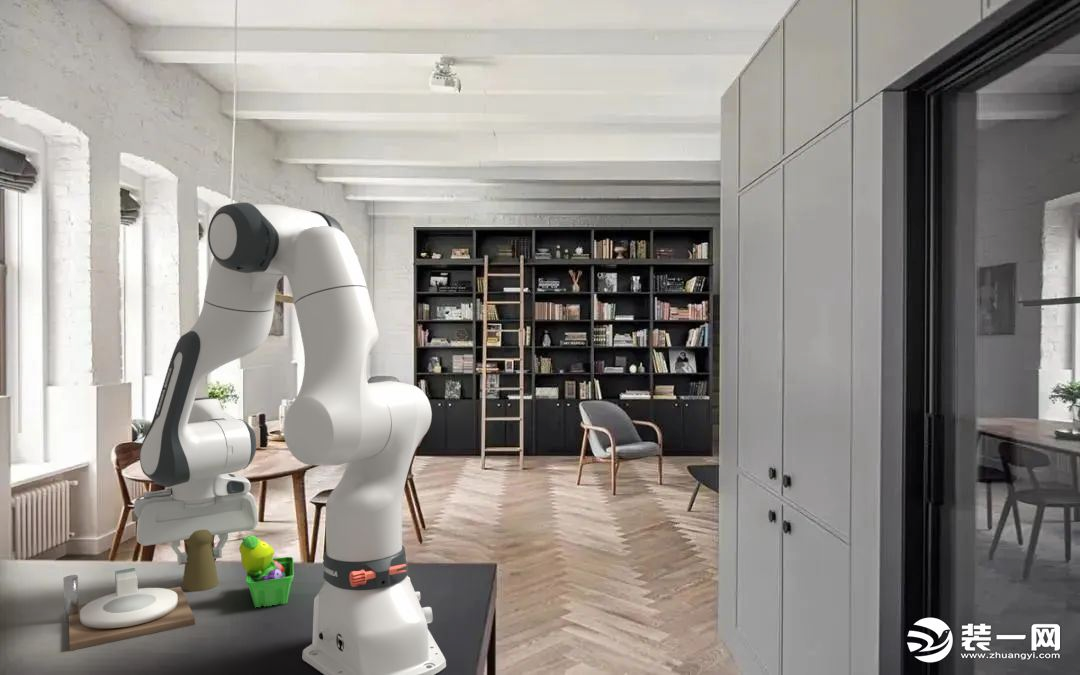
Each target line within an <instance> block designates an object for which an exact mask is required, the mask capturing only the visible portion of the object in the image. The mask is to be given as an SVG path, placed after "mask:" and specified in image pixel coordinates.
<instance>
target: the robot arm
mask: <svg viewBox="0 0 1080 675" xmlns="http://www.w3.org/2000/svg"><path fill="white" fill-rule="evenodd" d="M207 242H208V246H209V247H208V248H209V250H210V252H211V254H212V256H213V258H212V262H211V265H210V269H209V272H208V276H207V280H206V284H205V285H206V286H205V292H204V298H203V305H202V308H201V312H200V314H199V316H198V318H197V320H196V321H195V323H194V325H193V326H192V327H191V328H190V330H189V331H188V332H185V333H184V334H182V335H181V336H180V337H179V339H178V341H177V343H176V345H175V348H174V350H173V352H172V355H171V358H170V361H169V364H168V367H167V372H166V374H165V378H164V381H163V383H162V387H161V390H160V394H159V398H158V402H157V404H156V408H155V410H154V414H153V418H152V420H151V424H150V426H149V427H148V430H147V432H146V434H145V436H144V437H143V440H142V443H141V446H140V450H139V451H140V452H139V463H140V468H141V470H142V473H143V474H144V475H145V476H146V477H147V478H148V479H149V480H151V481H153V482H154V483H156V484H158V485H159V486H162V487H164V488H167V489H159V490H156V491H145V492H143V494H141V495H139V496H137V497H136V499H135V500H134V503H133V513H134V515H135V517H137V518H138V519H137V523H136V541H137V543H139V544H140V545H141V546H142V547H147V546H153V545H159V544H166V543H169V544H170V545H169V546H170V548H171V549H172V550H173V551H174V553H175V554H176V556H177V558H176V559H177V565H178V566H182V565H185V564H187V562H188V560H187V553H186V552H187V551H183V552H181V550H180V549H179V548H178V547H180V546H181V541H184V540H186V539H189V538H190V536H191V535H192V534H193V532H195V531H198V530H208V531H209V532H211V534H212V535H215V536H217V537H218V539H219V541H218V542H217V544H216V546H214V547H213V546H212V548H213V554H214V555H213V558H214V560H216V559H221V558H222V557H223V550H222V549H223V548H224V546H225V545H226V543H227V542H228V539H229V534H230V533H231V534H232V533H236V532H238V533H239V532H242V531H243V532H245V531H249V530H251V531H252V530H255V528H256V527H257V526H258V524H259V513H258V508H257V502H256V498H255V496H254V495H253V494H252V493H251V492H250V491H251V485H252V484H251V482H250V480H249V479H248V478H246V477H245V476H243V475H241V474H234V473H237V472H239V471H242V470H245V469H247V468H248V467H249V465H250V464H251V462H252V461H253V460H254V457H255V455H256V452H257V438H256V432H255V430H254V429H253V428H252V427H251V426H250V425H249V423H248V422H246V421H245V420H243V419H241V418H239V419H238V418H235V417H234V416H232V415H231V414H230V413H229V414H228V413H227V412H226V411H225V410H224V409H223V408H222V404H221V402H220V400H219V399H217V398H215V397H211V396H209V397H208V396H207V397H196V396H197V392H198V389H199V387H200V385H201V383H202V381H203V380H204V379H205V378H206V377H207V376H208V375H210V374H211V373H212V372H214V371H215V370H217V369H218V368H221V367H222V366H225V365H226V364H228V363H231V362H234V361H235V360H236V361H237V360H238V359H241V358H243V357H246V356H247V355H250V354H251V353H253V352H254V351H256V350H257V349H259V347H261V346H262V345H263V344H264V342H266V341H267V339H268V336H269V334H270V332H271V329H272V327H273V326H272V325H273V318H274V313H275V312H274V311H275V305H276V304H275V303H276V292H277V286H278V282H279V280H281V279H282V278H283V277H286V278H287V280H288V282H289V287H290V291H291V296H292V301H293V305H294V309H295V313H296V316H297V317H296V318H297V321H298V322H297V323H298V325H299V326H298V327H299V332H300V335H301V341H302V346H303V353H304V354H303V355H304V368H303V377H302V382H301V386H300V389H299V392H298V394H297V395H296V398H295V399H294V401H293V402H292V403H291V404H290V406H289V407H288V409H287V411H286V414H285V416H284V418H283V419H284V420H283V426H282V428H283V432H282V433H283V437H284V442H285V444H286V447H287V449H288V451H290V453H291V454H292V456H293V457H294V458H295V459H296V460H297V461H298V462H300V463H302V464H304V465H307V466H308V465H309V466H321V467H323V466H324V467H326V466H330V467H332V466H342V465H344V464H347V465H346V467H345V470H344V472H343V475H342V477H341V479H339V480H340V481H339V482H338V483H337V485H336V486H335V487H334V489H332V490H331V492H330V494H329V495H328V498H327V500H326V503H325V538H326V539H325V543H326V546H325V547H326V548H325V549H326V550H325V552H324V554H323V561H322V569H323V579H324V580H325V581H324V583H323V585H322V587H321V589H320V590H319V592H318V593H317V594H316V596H315V597H314V600H313V614H312V615H313V617H312V619H313V620H312V643H311V644H310V645H308V646H306V647H305V648H304V649H302V657H301V658H302V660H303V661H304V662H306V663H307V664H308V665H310V666H311V667H313V669H315V670H317V671H319V672H320V673H322V674H323V675H436V674H438V673H440V672H442V671H443V670H444V669H445V668H446V667H447V663H446V662H447V660H446V658H445V656H444V654H443V652H442V651H441V649H440V647H439V646H438V644H437V642H436V641H435V639H434V637H433V635H432V633H431V631H430V630H429V629H428V628H429V627H428V624H431V623H433V620H434V617H433V615H434V614H433V610H432V606H431V607H430V606H424V607H422V605H421V604H420V601H421V592H420V591H415V588H414V586H413V584H412V582H411V578H410V577H409V576H408V575H409V568H408V567H409V566H408V562H409V561H408V556H407V554H406V548H405V546H404V545H403V502H404V493H405V492H404V491H405V486H406V481H407V478H408V473H409V470H410V466H411V464H412V460H413V457H414V454H415V452H416V450H417V447H418V446H419V444H420V442H421V441H422V439H423V438H424V436H425V435H426V434H427V432H428V431H429V429H430V427H431V425H432V424H431V423H432V416H433V413H432V407H431V403H430V400H429V398H428V396H427V395H426V394H425V393H424V391H423V390H422V389H421V388H420V387H418V386H416V385H414V384H411V383H406V382H401V381H394V380H385V381H378V382H376V381H375V382H370V383H369V382H368V378H367V369H368V367H367V366H368V358H369V354H370V353H371V352H372V351H373V350H374V349H375V348H376V346H377V344H378V342H379V338H380V334H379V333H380V332H379V329H378V324H377V320H376V316H375V313H374V309H373V304H372V300H371V298H370V293H369V289H368V284H367V282H366V278H365V275H364V272H363V270H362V266H361V264H360V261H359V258H358V257H357V254H356V251H355V249H354V248H353V245H352V244H351V241H350V239H349V238H348V235H347V234H345V232H344V229H343V227H342V225H341V224H340V222H339V221H338V220H336V218H334V217H332V216H330V215H328V214H326V213H323V212H320V211H317V210H311V211H309V210H305V209H302V208H296V207H291V206H287V205H285V204H283V205H282V204H272V203H271V204H270V203H269V204H267V203H258V204H257V203H255V204H253V203H250V202H236V203H235V202H233V203H229V204H226V205H223V206H221V207H219V208H218V209H217V210H216V211H215V213H214V214H213V217H212V218H211V220H210V222H209V225H208V231H207ZM169 487H170V488H169Z"/></svg>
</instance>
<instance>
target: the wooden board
mask: <svg viewBox="0 0 1080 675" xmlns="http://www.w3.org/2000/svg"><path fill="white" fill-rule="evenodd" d="M168 589H169V590H172V591H174V592H176V593H177V596H178V604H177V606H176V608H175V609H174V610H173V611H171V612H170V613H168V614H166V615H164V616H162V617H160V618H157V619H155V620H152V621H149V622H145V623H142V624H137V625H133V626H127V627H120V628H91V627H87V626H85V625H83V624H82V623H81V622H80V611H81V609H82V608H83V607H84V606H85V605H86V604H87V603H84V604H79V613H78V614H75V615H71V616H69V622H68V635H69V636H68V638H69V639H68V640H69V645H68V646H69V652H70V651H75V650H80V649H83V648H88V647H93V646H98V645H103V644H107V643H113V642H118V641H122V640H127V639H132V638H137V637H142V636H145V635H146V636H147V635H151V634H155V633H160V632H165V631H169V630H170V631H171V630H174V629H179V628H184V627H188V626H194V625H195V624H196V622H195V621H196V620H195V615H194V614H193V611H192V609H191V607H190V604H189V603H188V600H187V598H186V595H185V594H184V590H183V589H182V587H181V586H180V585H179V586H176V587H170V588H168Z"/></svg>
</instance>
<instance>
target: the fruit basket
mask: <svg viewBox="0 0 1080 675" xmlns="http://www.w3.org/2000/svg"><path fill="white" fill-rule="evenodd" d="M241 540H242V542H241V543H240V545H239V553H240V558H241V560H240V561H241V565H242V567H243V569H244V570H245V571H246V572H247V573H246V584H247V587H248V588H249V591H250V596H251V599H252V602H253V606H254V607H255V609H257V608H256V607H259V608H262V607H261V606H264V607H263V608H265V607H266V606H267V607H273V606H272V605H274V606H279V605H286V604H285V603H287V604H288V600H289V595H290V590H291V585H292V582H293V580H294V576H295V575H294V574H295V573H294V557H293V556H292V557H291V556H284V557H283V556H282V557H277V558H276V557H274V558H273V556H274V555H275V549H274V547H272V545H270V544H268V543H267V542H266V541H262V540H261V539H259V538H258V537H257V536H255V535H248V536H247V537H245V536H244V537H242V539H241ZM278 604H279V605H278Z"/></svg>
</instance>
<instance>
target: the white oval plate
mask: <svg viewBox="0 0 1080 675" xmlns="http://www.w3.org/2000/svg"><path fill="white" fill-rule="evenodd" d="M114 574H115V579H114V582H115V592H114V593H111V594H110V593H109V594H107V595H104V596H101V597H99V598H96V599H94V600H92V601H89V602H88V603H85V604H86V605H85V606H84V607H83V608H82V609H81V611H80V622H81V623H82V624H83V625H85V626H87V627H91V628H120V627H127V626H133V625H137V624H142V623H145V622H149V621H152V620H155V619H157V618H160V617H162V616H164V615H166V614H168V613H170V612H171V611H173V610H174V609H175V608H176V606H177V604H178V596H177V593H176V592H174V591H172V590H169V588H161V587H143V588H142V587H141V588H138V586H139V584H138V575H137V572H136V569H135V567H132V568H126V569H121V570H115V571H114Z"/></svg>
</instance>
